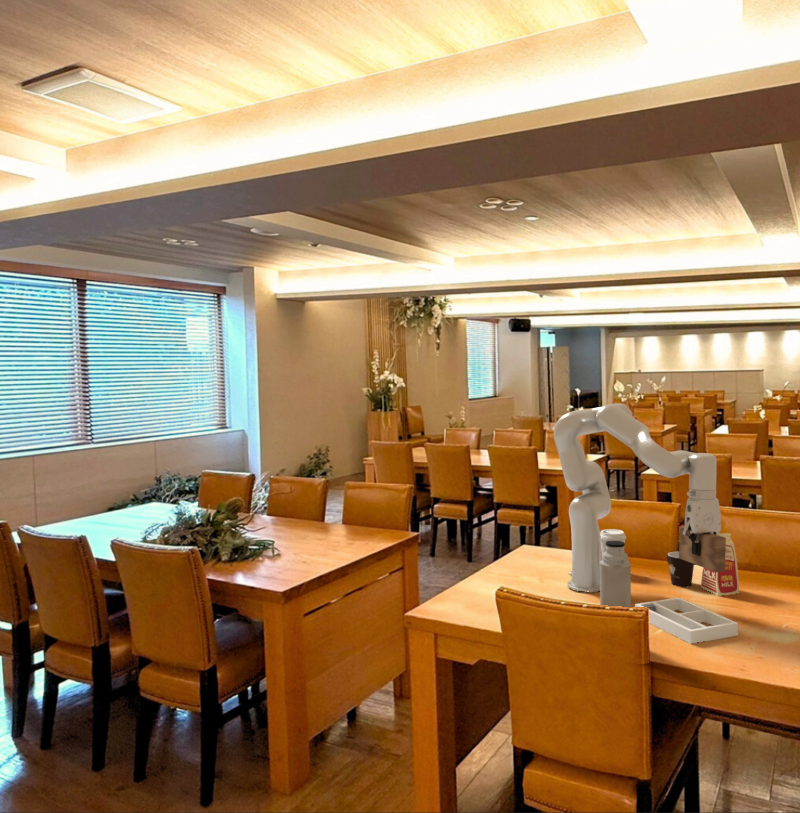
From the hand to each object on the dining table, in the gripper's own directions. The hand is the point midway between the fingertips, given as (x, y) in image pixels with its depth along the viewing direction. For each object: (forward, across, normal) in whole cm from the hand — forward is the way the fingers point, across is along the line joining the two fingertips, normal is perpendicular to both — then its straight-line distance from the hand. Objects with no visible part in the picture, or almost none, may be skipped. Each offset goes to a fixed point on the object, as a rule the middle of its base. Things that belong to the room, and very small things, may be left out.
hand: (701, 553), depth 223 cm
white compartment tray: (+17, -13, -9) cm, 23 cm away
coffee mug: (+18, +13, +24) cm, 33 cm away
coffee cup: (+18, -1, +43) cm, 47 cm away
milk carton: (+18, +19, +12) cm, 29 cm away
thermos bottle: (+18, -39, -13) cm, 45 cm away
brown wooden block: (+3, 0, 0) cm, 3 cm away
